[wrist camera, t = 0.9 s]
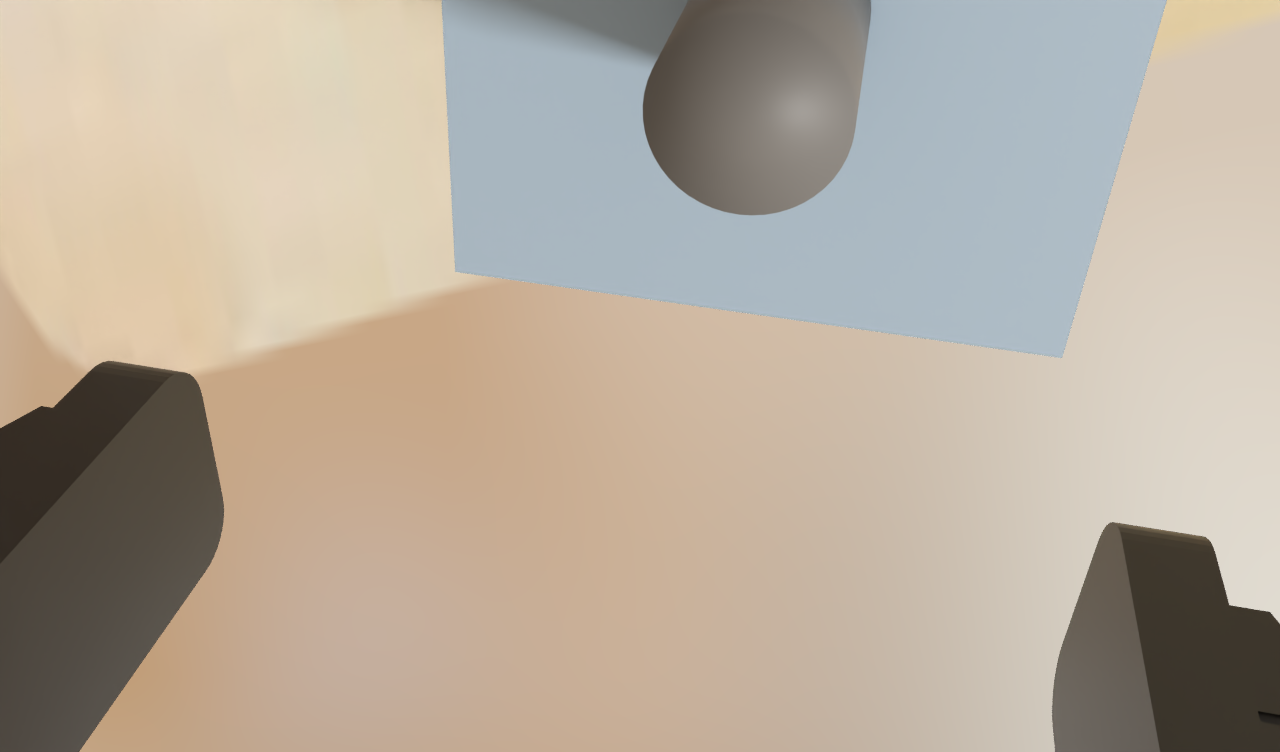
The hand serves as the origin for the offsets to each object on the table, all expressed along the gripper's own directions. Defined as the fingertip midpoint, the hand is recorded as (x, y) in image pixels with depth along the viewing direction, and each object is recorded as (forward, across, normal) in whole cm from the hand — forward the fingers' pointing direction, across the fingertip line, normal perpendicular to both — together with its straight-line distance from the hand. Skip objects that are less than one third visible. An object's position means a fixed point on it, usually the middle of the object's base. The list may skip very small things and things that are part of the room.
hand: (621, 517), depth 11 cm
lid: (+16, 0, 0) cm, 16 cm away
